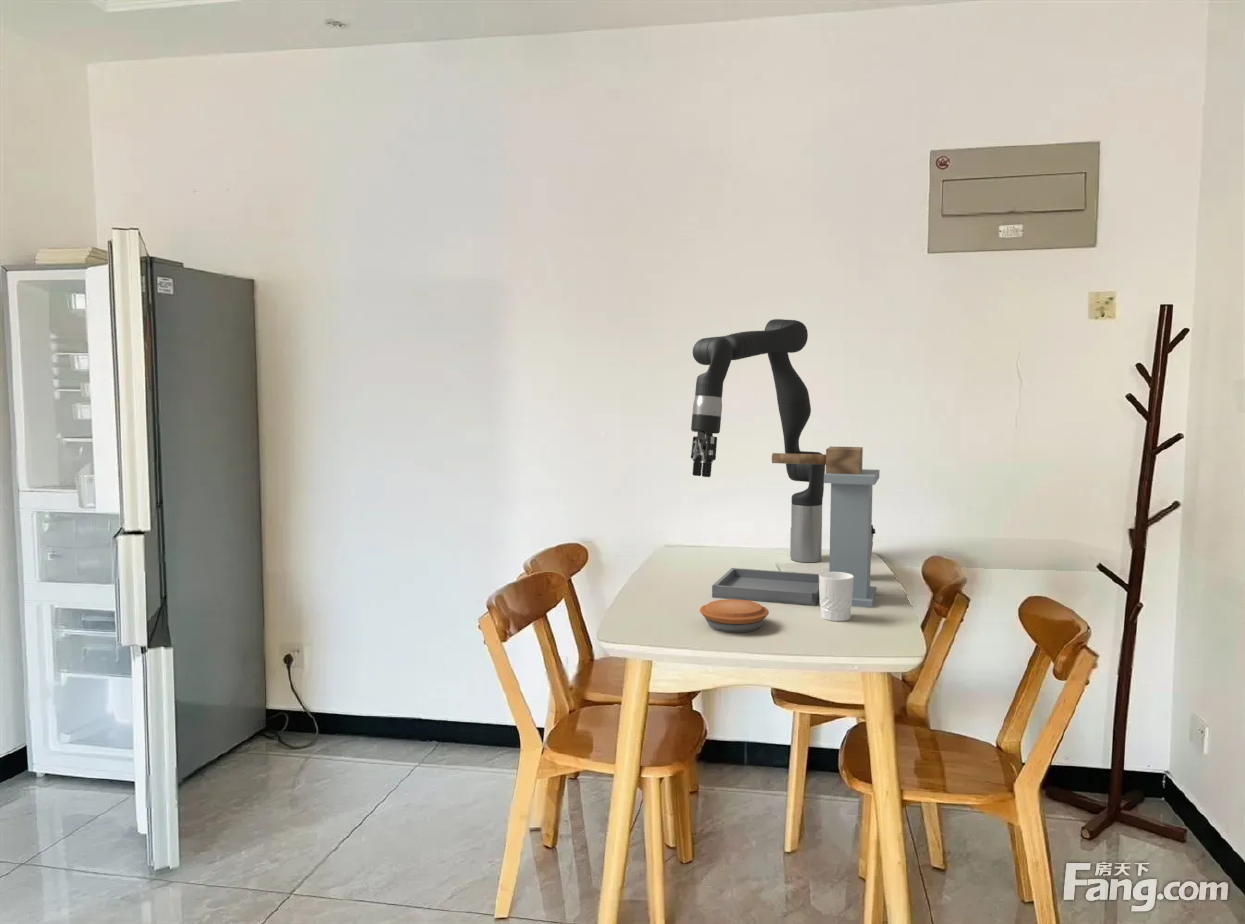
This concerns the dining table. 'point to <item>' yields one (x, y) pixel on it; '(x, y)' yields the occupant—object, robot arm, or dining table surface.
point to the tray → (768, 586)
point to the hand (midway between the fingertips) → (701, 476)
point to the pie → (734, 615)
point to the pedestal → (852, 530)
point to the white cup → (835, 595)
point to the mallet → (827, 459)
